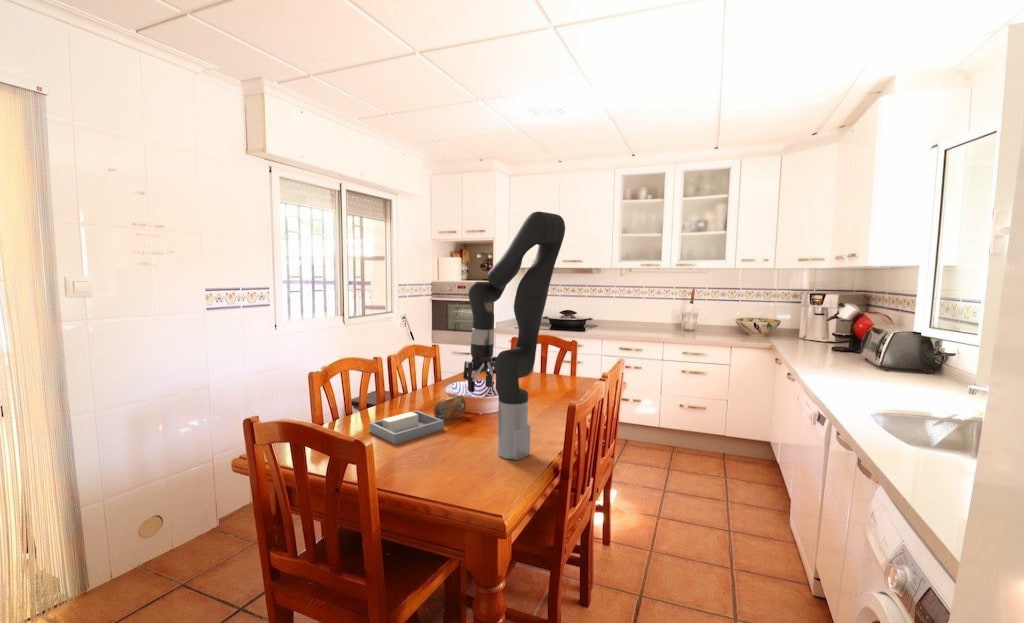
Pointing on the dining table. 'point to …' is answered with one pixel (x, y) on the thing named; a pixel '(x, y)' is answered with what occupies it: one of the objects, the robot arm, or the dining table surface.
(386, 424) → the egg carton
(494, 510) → the dining table surface
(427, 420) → the tray
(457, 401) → the tin
